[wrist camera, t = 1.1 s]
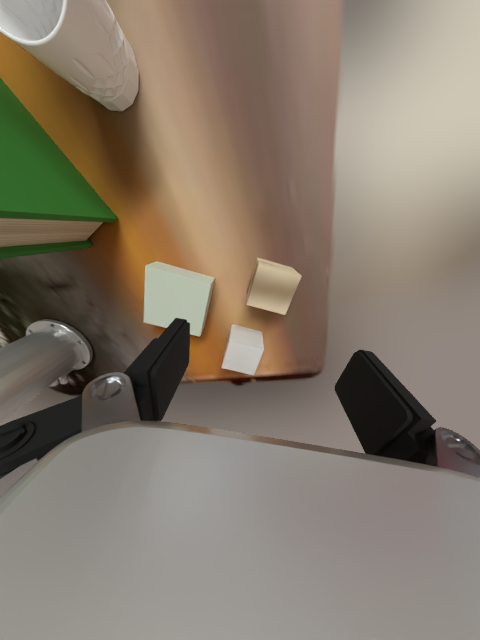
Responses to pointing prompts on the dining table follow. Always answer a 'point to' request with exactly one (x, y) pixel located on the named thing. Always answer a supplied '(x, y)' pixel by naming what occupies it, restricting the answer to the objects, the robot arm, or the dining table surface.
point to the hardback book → (41, 189)
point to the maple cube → (272, 286)
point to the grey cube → (243, 350)
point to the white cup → (76, 45)
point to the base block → (176, 296)
